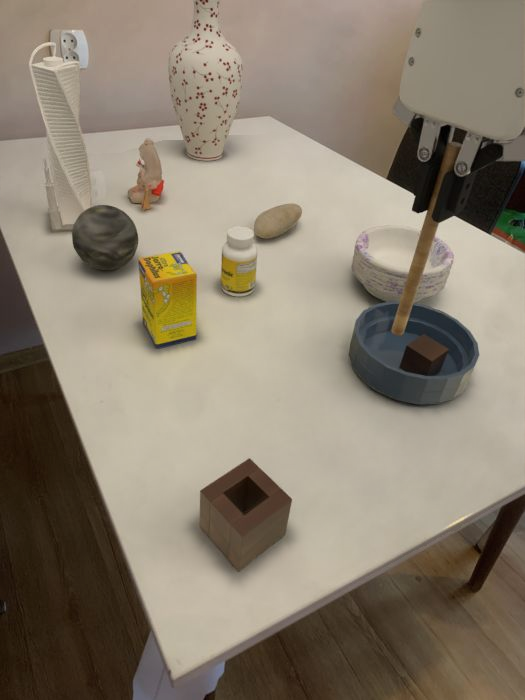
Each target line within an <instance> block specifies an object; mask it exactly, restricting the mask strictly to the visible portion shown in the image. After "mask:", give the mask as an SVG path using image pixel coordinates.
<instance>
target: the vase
mask: <svg viewBox="0 0 525 700" xmlns="http://www.w3.org/2000/svg"><path fill="white" fill-rule="evenodd" d="M220 2H221V0H193V17H192V21H191V26H190V29H189V31H188V33H187V35H185V37H183V38H182V39H181V40H179V41H178V42H177V43H176V44H174V45H172V48H171V49H170V51H169V54H168V65H167V66H168V67H167V71H168V72H167V73H168V81H169V91H170V99H171V103H172V106H173V109H174V112H175V116H176V118H177V122H178V126H179V129H180V131H181V136H182V138H183V142H184V145H185V148H186V155H187V157H189V158H191V159H194V160H197V161H202V162H203V161H204V162H205V161H207V162H208V161H209V162H211V161H216V160H219V159H221V158H222V157H223V154H224V153H223V152H224V148H225V145H226V142H227V139H228V137H229V134H230V131H231V129H232V128H231V127H232V125H233V122H234V119H235V116H236V113H237V111H238V107H239V104H240V101H241V95H242V86H243V77H244V70H243V69H244V68H243V60H242V57H241V55H240V54H239V51H238V50H237V48H236V47H234V46H233V45H232V44H231V43H230V42H229V41H228V40H227V39H226V37H225V36H224V34H223V32H222V28H221V23H220V8H219V7H220Z"/></svg>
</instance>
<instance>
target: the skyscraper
mask: <svg viewBox="0 0 525 700" xmlns="http://www.w3.org/2000/svg"><path fill="white" fill-rule="evenodd" d="M50 46H51V47H53V49H52V50H53V52H52V56H46V57H43V58H42V60H43V61H40V62H36V63H33V60H34V57H35V55H36V53H38V51H40V50H41V49H43V48H47V47H50ZM56 55H57V43H56V42H54V41H49V42H45V43H41V44H39V45H38V46H36V47H35V48H34V50H33V51H32V53H31V55H30V57H29V61H28V67H29V68H28V69H29V71H30V76H31V79H32V83H33V87H34V91H35V96H36V99H37V104H38V106H39V110H40V113H41V116H42V119H43V122H44V126H45V129H46V144H47V145H46V146H47V152H48V161H49V167H48V164H47V159H46V157H43V164H44V168H43V171H44V175H45V183H44V187H45V193H46V199H47V204H48V212H49V218H50V225H51V233H61V232H63V233H64V232H65V233H66V232H72V229H73V226H74V223H75V221H76V220H77V218H78V217H79V215H80V214H81V213H82V212H84V211H85V210H87V209H88V208H91V207H93V196H92V195H93V194H92V179H91V178H92V177H91V169H90V168H91V167H90V162H89V155H88V150H87V146H86V142H85V138H84V135H83V131H82V127H81V125H80V117H81V116H80V115H81V114H80V113H81V64H80V62H79V61H78V60H71V61H70V60H69V61H67V62H65V61H64V59H63V58H62V57H59V56H56ZM51 178H52V179H51Z"/></svg>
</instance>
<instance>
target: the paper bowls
mask: <svg viewBox="0 0 525 700" xmlns="http://www.w3.org/2000/svg"><path fill="white" fill-rule="evenodd" d="M421 230H422V229H418V228H414V227H409V226H403V225H380V226H379V225H378V226H375V227H371V228H368V229H366V230H364V231H362V232H361V233H360V234H359V236H358V237H357V238H356V241H355V244H354V250H353V254H352V260H351V261H352V262H351V270H352V273H353V275H354V276H355V278H356V279H357V280H358V281H359V282H360V283H361V284H363V286H364V288H365V290H366V291H367V292H368V293H369V294H371V296H373V297H375V298H377V299H378V300H380V301H383V302H389V301H397V302H400V300H401V296H402V293H403V290H404V286H405V283H406V280H407V276H408V273H409V270H410V266H411V263H412V260H413V256H414V253H415V250H416V246H417V243H418V240H419V237H420V233H421ZM454 259H455V258H454V254H453V251H452V249H451V248H450V246H449V245H448V244H447V243H446V242H445V241H443V240H442V239H440V238H439V237H437V236H436V235H435V237H434V240H433V244H432V247H431V250H430V253H429V256H428V259H427V262H426V265H425V268H424V272H423V275H422V278H421V281H420V284H419V287H418V290H417V293H416V296H415V300H414V303H418V302H421V301H422V300H423V299H425V298H429V297H433V296H435V295H437V294H439V293H440V292H441V291H442V290H443V289H444V288H445V286H446V284H447V283H448V282H447V281H448V278H449V276H450V274H451V269H452V266H453V264H454Z"/></svg>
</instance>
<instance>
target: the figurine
mask: <svg viewBox="0 0 525 700" xmlns="http://www.w3.org/2000/svg"><path fill="white" fill-rule="evenodd" d="M154 143H155V142H154V140H153V139H152V138H145V140H144V141H143V143H141V144H140V145H139V147H138V151H139V157H140V158H139V160H138V161H137V163H135V165H136V167H138V168H139V172H138V174H137V179H136V185H135V186H132V187H130V188H129V189H128V190H127V194H126V195H127V197H128V198H129V199H130V201H131V202H132V203H133V204H141V210H142V211H145V210H151V209H152V207H151V204H153V203H156V202H157V201H159V200H160V198H161V196H162V193H163V189H164V184H165V180H164V179H163V176H162V175H163V171H162V169H163V168H162V164H161V160H160V157H159V153H158V151H157V149H156V147H155V145H154ZM141 160H142V161H143V162H144V164H143V163H142V161H141Z"/></svg>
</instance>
